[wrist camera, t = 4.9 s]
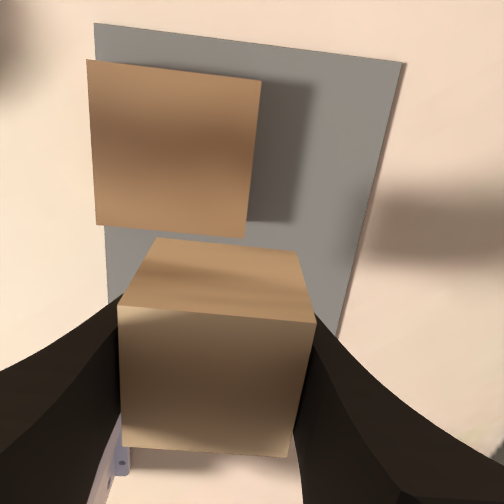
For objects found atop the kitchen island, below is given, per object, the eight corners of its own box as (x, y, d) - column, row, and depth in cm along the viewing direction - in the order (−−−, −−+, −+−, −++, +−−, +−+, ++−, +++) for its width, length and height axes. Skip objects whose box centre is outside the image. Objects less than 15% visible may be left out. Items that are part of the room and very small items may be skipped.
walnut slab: (243, 221, 21) (244, 238, 18) (112, 208, 20) (96, 224, 18) (259, 80, 18) (261, 80, 15) (106, 62, 17) (86, 59, 15)
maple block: (276, 360, 14) (286, 457, 10) (154, 350, 14) (122, 446, 10) (296, 251, 12) (316, 323, 9) (156, 237, 12) (117, 305, 8)
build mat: (326, 363, 25) (327, 366, 25) (112, 347, 24) (110, 350, 24) (399, 62, 18) (402, 62, 18) (96, 23, 17) (93, 22, 17)
